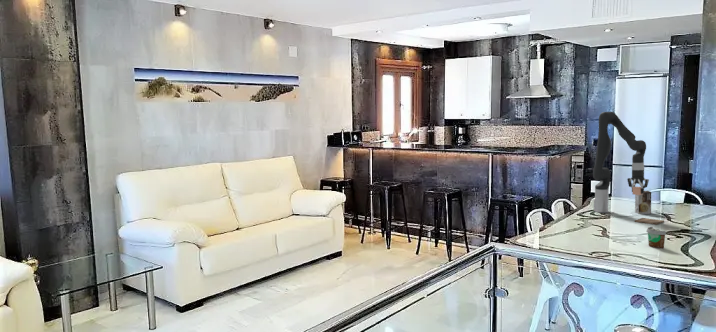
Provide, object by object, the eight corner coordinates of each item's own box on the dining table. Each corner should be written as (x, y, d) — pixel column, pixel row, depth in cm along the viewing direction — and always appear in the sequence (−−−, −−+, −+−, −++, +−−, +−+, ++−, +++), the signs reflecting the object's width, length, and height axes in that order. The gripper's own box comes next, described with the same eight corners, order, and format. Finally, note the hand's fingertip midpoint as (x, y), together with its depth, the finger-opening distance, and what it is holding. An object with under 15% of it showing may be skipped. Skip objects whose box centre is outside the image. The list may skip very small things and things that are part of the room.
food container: (641, 244, 308) (641, 226, 307) (651, 243, 309) (652, 226, 308) (655, 249, 296) (655, 231, 295) (665, 248, 297) (666, 231, 295)
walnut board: (634, 221, 365) (634, 220, 365) (642, 219, 373) (642, 217, 373) (656, 224, 354) (656, 223, 354) (664, 222, 362) (664, 220, 362)
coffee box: (647, 212, 396) (647, 190, 394) (651, 213, 390) (651, 191, 388) (634, 212, 397) (635, 190, 395) (638, 213, 391) (638, 192, 389)
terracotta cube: (632, 194, 374) (632, 187, 373) (635, 193, 377) (635, 186, 376) (639, 194, 370) (639, 187, 369) (643, 194, 373) (643, 187, 372)
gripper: (625, 169, 375) (624, 193, 376) (646, 170, 364) (646, 194, 365) (629, 168, 380) (629, 191, 381) (651, 169, 368) (651, 193, 370)
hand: (637, 193), depth 373 cm, fingers closed on terracotta cube, 5 cm apart
